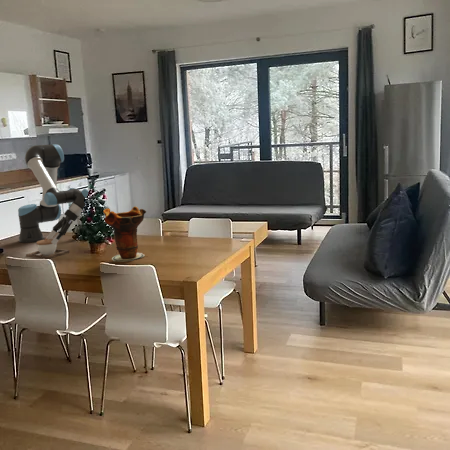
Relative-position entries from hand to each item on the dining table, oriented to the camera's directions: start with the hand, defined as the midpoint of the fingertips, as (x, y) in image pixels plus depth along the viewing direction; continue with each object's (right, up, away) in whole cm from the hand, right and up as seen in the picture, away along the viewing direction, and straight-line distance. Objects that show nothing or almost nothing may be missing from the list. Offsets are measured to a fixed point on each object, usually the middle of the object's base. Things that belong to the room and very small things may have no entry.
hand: (50, 241), depth 284 cm
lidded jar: (-2, -7, +1) cm, 8 cm away
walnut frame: (-2, -7, +1) cm, 8 cm away
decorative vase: (+48, -8, -15) cm, 51 cm away
